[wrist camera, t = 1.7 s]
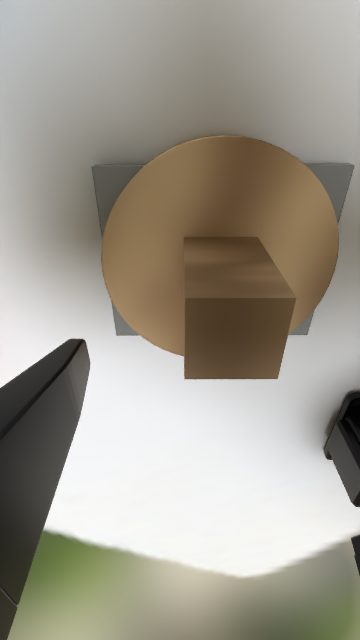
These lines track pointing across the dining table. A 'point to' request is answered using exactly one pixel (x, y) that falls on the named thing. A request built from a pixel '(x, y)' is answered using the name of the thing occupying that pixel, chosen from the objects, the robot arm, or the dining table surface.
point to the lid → (221, 254)
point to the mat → (118, 176)
